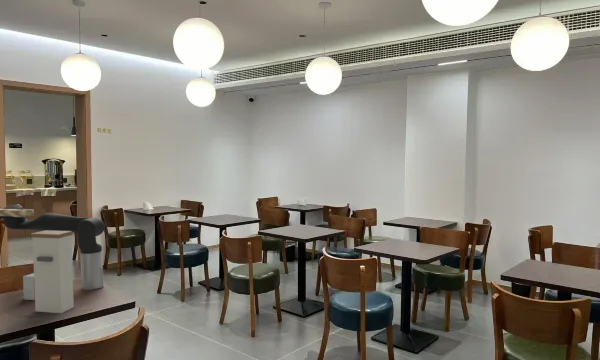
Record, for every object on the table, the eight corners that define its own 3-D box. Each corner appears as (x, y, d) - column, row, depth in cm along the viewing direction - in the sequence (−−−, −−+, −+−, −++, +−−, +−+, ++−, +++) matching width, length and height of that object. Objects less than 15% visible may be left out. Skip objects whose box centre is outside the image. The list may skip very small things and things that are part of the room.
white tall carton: (74, 306, 180) (72, 231, 178) (59, 314, 171) (56, 235, 169) (48, 305, 182) (45, 230, 180) (32, 312, 174) (28, 234, 172)
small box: (34, 300, 188) (33, 276, 188) (23, 299, 189) (22, 276, 189) (48, 294, 196) (47, 271, 196) (37, 293, 197) (36, 271, 197)
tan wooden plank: (34, 215, 179) (33, 209, 179) (24, 217, 174) (24, 211, 174) (-11, 213, 183) (-11, 208, 183) (-22, 215, 179) (-22, 209, 178)
